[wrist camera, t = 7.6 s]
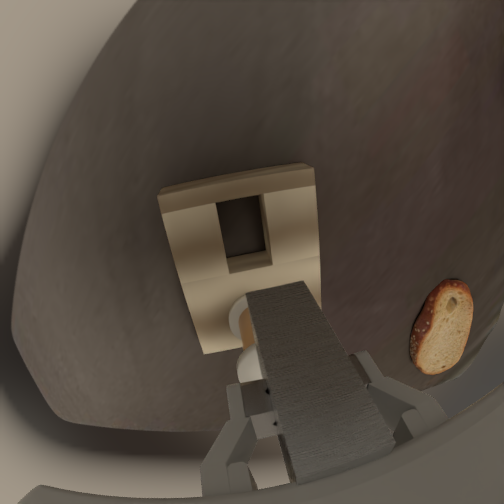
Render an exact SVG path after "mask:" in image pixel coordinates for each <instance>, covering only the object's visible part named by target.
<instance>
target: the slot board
mask: <svg viewBox="0 0 504 504" xmlns="http://www.w3.org/2000/svg"><path fill="white" fill-rule="evenodd" d="M254 195H258V197H259V204H260V211H261V218H262V225H263V232H264V240H265V247H266V250H265V251H260V252H255V253H250V254H245V255H240V256H235V257H230V258H226V253H225V248H224V243H223V239H222V233H221V228H220V223H219V218H218V213H217V208H216V203H217V202H222V201H227V200H232V199H237V198H243V197H248V196H254ZM157 198H158V202H159V206H160V210H161V214H162V218H163V222H164V226H165V230H166V233H167V237H168V241H169V244H170V248H171V252H172V255H173V259H174V262H175V266H176V269H177V272H178V276H179V279H180V282H181V286H182V289H183V292H184V295H185V299H186V302H187V305H188V308H189V311H190V314H191V317H192V320H193V323H194V326H195V329H196V332H197V335H198V338H199V341H200V344H201V347H202V349H203V352H204V354H208V353H213V352H219V351H224V350H229V349H234V348H239V347H243V344H242V341H241V340H240V339H238V338H237V337H236V336H235V335H234V334H233V333H232V331H231V329H230V325H229V311H230V308H231V307H232V305H233V303H234V302H235V301H236V300H237V299H238V298H239V297H241V296H242V295H244V294H245V293H247V292H251V291H255V290H261V289H266V288H271V287H275V286H280V285H284V284H289V283H293V282H298V281H302V280H304V282H305V284H306V285H307V287H308V289H309V290H310V292H311V294H312V295H313V297H314V299H315V300H316V302H317V304H318V305H319V307H320V309H321V279H320V252H319V232H318V215H317V200H316V187H315V175H314V168H313V167H311V166H309V165H307V164H305V163H302V162H299V163H292V164H285V165H278V166H272V167H265V168H259V169H253V170H247V171H241V172H236V173H230V174H225V175H220V176H214V177H209V178H204V179H199V180H195V181H190V182H185V183H180V184H176V185H171V186H167V187H163V188H162V189H161V191H160V192H159V194H158V196H157Z"/></svg>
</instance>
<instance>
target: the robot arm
mask: <svg viewBox="0 0 504 504" xmlns="http://www.w3.org/2000/svg"><path fill="white" fill-rule="evenodd" d="M348 357H349V358H350V360H351V362H352V364H353V365H354V367H355V369H356V371H357V372H358V374H359V376H360V378H361V380H362V381H363V383H364V385H365V387H366V388H367V390H368V392H369V394H370V396H371V397H372V399H373V401H374V403H375V405H376V406H377V408H378V410H379V412H380V414H381V416H382V417H383V419H384V421H385V423H386V425H387V427H388V428H390V429H391V430H393V431H394V434H393V438H394V439H395V441H396V443H395V445H394V447H393V449H392V451H391V452H390V454H388V455H386V456H383V457H381V458H379V459H376V460H374V461H371V462H369V463H366V464H364V465H361V466H359V467H356V468H353V469H350V470H347V471H345V472H342V473H339V474H336V475H333V476H329V477H326V478H323V479H320V480H316V481H313V482H309V483H305V484H301V485H297V484H296V482H292V483H288V484H284V485H279V486H275V487H270V488H265V489H259V490H258V488H257V484H256V482H255V480H254V478H253V476H252V474H251V471H250V469H249V467H248V465H247V464H248V462H249V460H250V457H251V455H252V453H253V450H254V448H255V446H256V443H257V441H258V440H257V439H261V438H266V437H270V436H274V435H278V429H277V424H276V417H275V412H274V408H273V404H272V400H271V397H270V395H269V390H268V386H267V382H266V378H265V379H259V380H254V381H249V382H243V383H237V384H232V385H227V397H228V404H229V411H230V418H231V420H229V421H227V422H226V423H225V425H224V427H223V429H222V430H221V432H220V434H219V436H218V437H217V439H216V441H215V443H214V444H213V446H212V447H211V449H210V451H209V452H208V454H207V456H206V457H205V459H204V461H203V462H202V464H201V466H200V473H201V485H202V495H203V497H193V498H192V497H191V498H128V497H115V496H105V495H96V494H88V493H82V492H75V491H70V490H64V489H59V488H54V487H50V486H46V485H39V486H37V487H35V488H34V489H32V490H31V491H30V492H29V493H28V494H27V495H26V496H25V497H24V498H23V499H21V500H20V501H19V502H18V504H504V382H503V383H502V384H500V385H499V386H498V387H496V388H495V389H494V390H492V391H491V392H490V393H488V394H487V395H485V396H484V397H483V398H481V399H480V400H478V401H477V402H475V403H474V404H472V405H471V406H469V407H468V408H466V409H465V410H463V411H461V412H460V413H458V414H457V415H455V416H453V417H452V418H450V419H448V417H447V416H446V414H445V413H444V411H443V410H442V408H441V407H440V405H439V404H438V403H437V401H436V400H435V398H434V397H432V396H430V395H428V394H425V393H423V392H421V391H418V390H416V389H414V388H412V387H409V386H407V385H405V384H403V383H401V382H398V381H396V380H394V379H392V378H390V377H385V378H384V376H383V375H382V373H381V372H380V370H379V369H378V367H377V366H376V364H375V362H374V361H373V359H372V358H371V356H370V355H369V353H368V352H367V351H366V350H364V351H361V352H358V353H355V354H351V355H348Z"/></svg>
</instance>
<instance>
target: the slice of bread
mask: <svg viewBox="0 0 504 504" xmlns="http://www.w3.org/2000/svg"><path fill="white" fill-rule="evenodd" d="M472 316H473V300H472V297H471V294H470V290H469V288H468V286H467V284H465V283H464V282H462V281H459V280H449V279H445V280H443V281H442V282H441V283H440V284H439V285H438V286H437V287H436V288H435V289H434V290H433V291H432V292H431V293H430V294H429V295H428V296H427V298H426V300H425V304H424V307H423V309H422V311H421V313H420V315H419V316H418V318H417V319H416V322H415V324H414V326H413V329H412V332H411V339H410V355H411V358H412V360H413V363H414V364H415V366H416V367H417V368H418V369H419V370H420V371H421V372H423V373H425V374H431V375H434V374H438V373H441V372H443V371H445V370H447V369H449V368H451V367H452V366H453V365H454V364H456V363H457V362H458V361H459V359H460V357H461V355H462V353H463V351H464V347H465V345H466V342H467V340H468V336H469V331H470V327H471V322H472Z"/></svg>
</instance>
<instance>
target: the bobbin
mask: <svg viewBox="0 0 504 504" xmlns="http://www.w3.org/2000/svg"><path fill="white" fill-rule="evenodd" d="M255 291H257V290H255ZM251 292H252V291H251ZM229 325H230V329H231V331H232V333H233V334H234V335H235V336H236V337H237V338H238V339H240V340H241V341H242V344H243V349H244V351H243V353H242V354H241V355H240V357H239V359H238V361H237V373H238V379H239V381H240V383H243V382H249V381H254V380H259V379H262V375H261V371H260V366H259V361H258V356H257V351H256V346H255V341H254V336H253V331H252V326H251V320H250V315H249V310H248V305H247V300H246V294H244V295H242V296H241V297H239V298H238V299H237V300H236V301H235V302H234V303H233V305H232V307H231V308H230V311H229Z"/></svg>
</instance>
